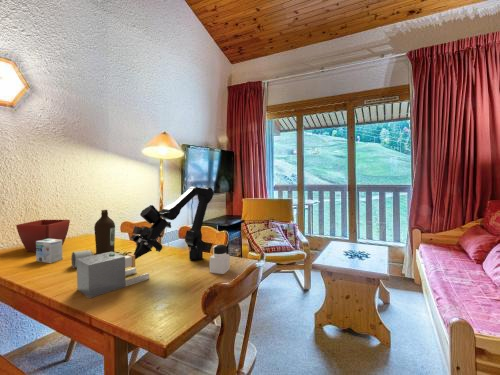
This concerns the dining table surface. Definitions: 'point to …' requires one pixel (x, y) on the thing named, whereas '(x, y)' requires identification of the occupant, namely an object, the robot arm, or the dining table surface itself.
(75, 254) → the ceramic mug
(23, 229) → the plant pot
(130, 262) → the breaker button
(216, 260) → the medicine bottle
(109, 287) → the box
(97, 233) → the olive oil
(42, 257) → the light bulb box
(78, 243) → the dining table surface
